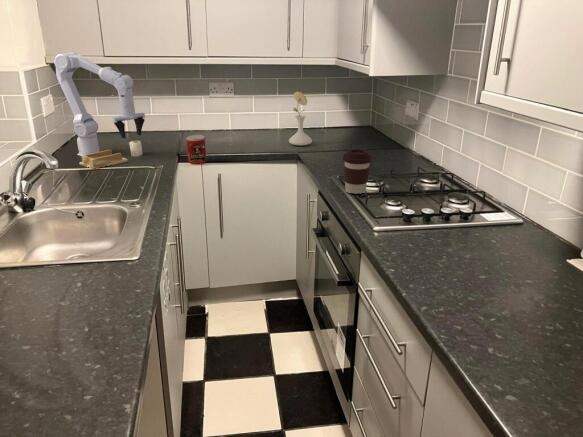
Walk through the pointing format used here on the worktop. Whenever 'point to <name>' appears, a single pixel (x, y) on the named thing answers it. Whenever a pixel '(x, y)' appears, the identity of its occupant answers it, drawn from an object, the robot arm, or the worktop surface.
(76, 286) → the worktop surface
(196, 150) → the canned food
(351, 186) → the coffee cup
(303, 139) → the flower in vase
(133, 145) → the paper roll
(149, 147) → the worktop surface
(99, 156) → the clip holder
